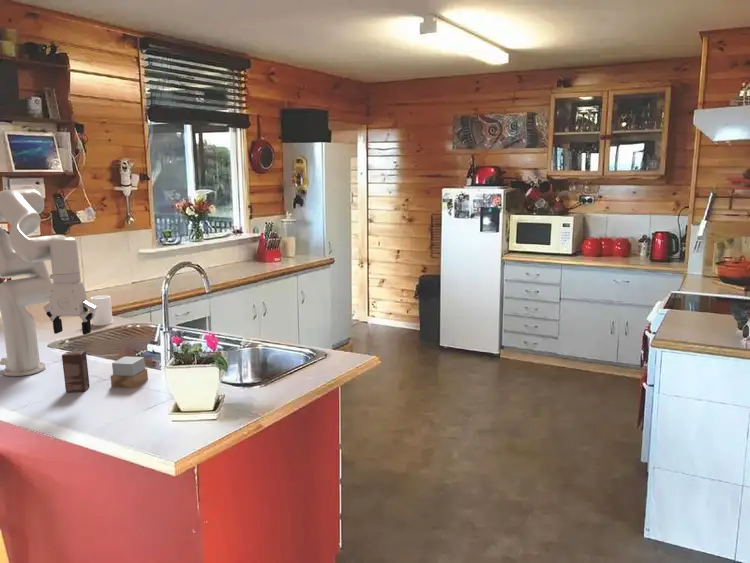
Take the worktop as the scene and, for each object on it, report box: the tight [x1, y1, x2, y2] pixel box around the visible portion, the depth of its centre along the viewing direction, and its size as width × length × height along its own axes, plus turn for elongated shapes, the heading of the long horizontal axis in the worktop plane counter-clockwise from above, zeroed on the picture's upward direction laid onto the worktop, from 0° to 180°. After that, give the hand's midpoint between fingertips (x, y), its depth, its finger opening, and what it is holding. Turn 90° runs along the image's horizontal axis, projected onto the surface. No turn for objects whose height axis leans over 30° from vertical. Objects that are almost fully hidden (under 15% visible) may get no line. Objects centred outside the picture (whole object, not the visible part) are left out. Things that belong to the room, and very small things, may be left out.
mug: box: [88, 294, 114, 327], centre depth 277 cm, size 12×8×12 cm
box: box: [61, 350, 90, 393], centre depth 196 cm, size 6×4×12 cm
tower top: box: [111, 356, 146, 376], centre depth 202 cm, size 7×7×4 cm
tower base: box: [110, 368, 149, 389], centre depth 203 cm, size 8×8×4 cm
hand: (72, 333), depth 194 cm, fingers open, 9 cm apart
